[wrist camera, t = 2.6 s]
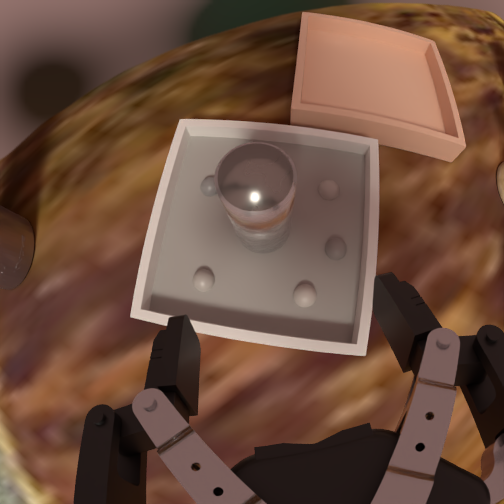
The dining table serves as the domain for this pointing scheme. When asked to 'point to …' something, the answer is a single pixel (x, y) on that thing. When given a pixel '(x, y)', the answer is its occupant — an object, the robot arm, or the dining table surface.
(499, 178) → the hand bell
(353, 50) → the terracotta bin
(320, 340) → the bin
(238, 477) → the robot arm
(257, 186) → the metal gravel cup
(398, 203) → the dining table surface
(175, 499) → the dining table surface
